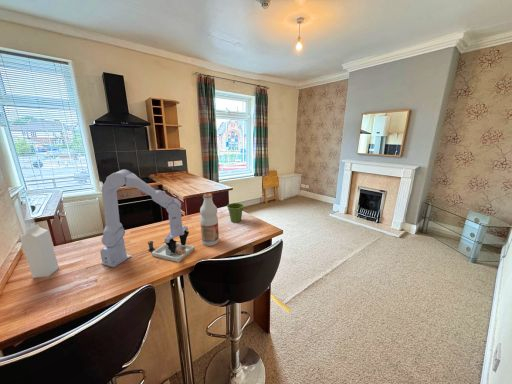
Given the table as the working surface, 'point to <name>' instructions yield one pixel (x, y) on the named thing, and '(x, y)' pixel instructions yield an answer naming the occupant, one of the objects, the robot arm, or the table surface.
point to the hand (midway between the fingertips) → (178, 248)
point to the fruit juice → (209, 221)
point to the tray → (177, 258)
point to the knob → (151, 246)
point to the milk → (39, 252)
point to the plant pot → (235, 211)
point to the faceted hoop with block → (179, 250)
